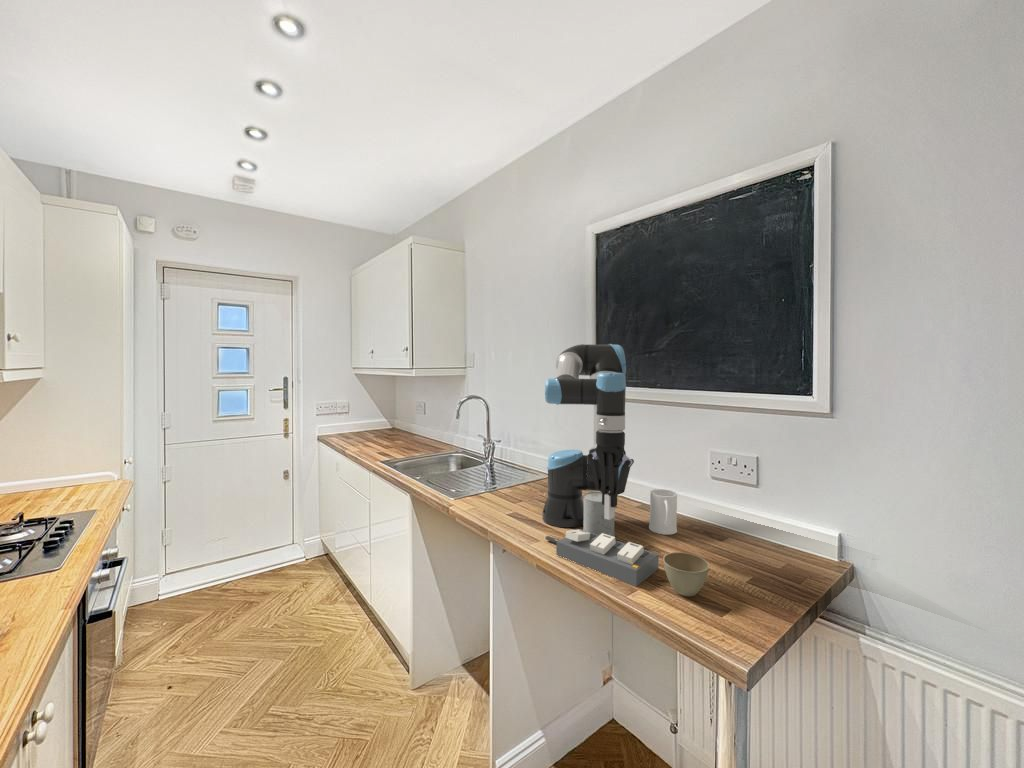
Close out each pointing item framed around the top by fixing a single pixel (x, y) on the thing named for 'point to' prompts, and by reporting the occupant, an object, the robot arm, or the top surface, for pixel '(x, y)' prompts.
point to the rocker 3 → (630, 553)
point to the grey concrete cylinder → (596, 515)
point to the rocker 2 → (602, 543)
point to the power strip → (607, 559)
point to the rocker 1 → (577, 535)
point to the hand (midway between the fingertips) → (609, 517)
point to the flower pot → (685, 572)
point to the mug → (663, 511)
